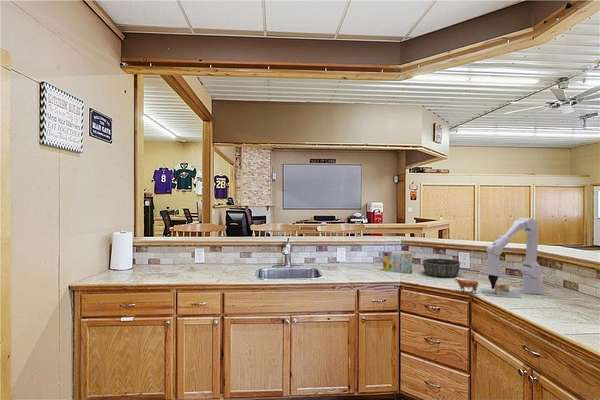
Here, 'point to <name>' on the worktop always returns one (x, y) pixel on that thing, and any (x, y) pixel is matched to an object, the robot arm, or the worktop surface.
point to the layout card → (500, 293)
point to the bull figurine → (466, 284)
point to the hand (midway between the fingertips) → (493, 288)
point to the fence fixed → (502, 288)
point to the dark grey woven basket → (441, 267)
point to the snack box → (397, 262)
